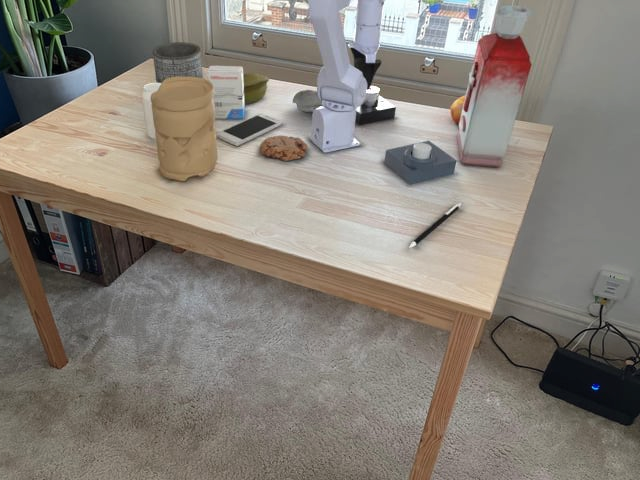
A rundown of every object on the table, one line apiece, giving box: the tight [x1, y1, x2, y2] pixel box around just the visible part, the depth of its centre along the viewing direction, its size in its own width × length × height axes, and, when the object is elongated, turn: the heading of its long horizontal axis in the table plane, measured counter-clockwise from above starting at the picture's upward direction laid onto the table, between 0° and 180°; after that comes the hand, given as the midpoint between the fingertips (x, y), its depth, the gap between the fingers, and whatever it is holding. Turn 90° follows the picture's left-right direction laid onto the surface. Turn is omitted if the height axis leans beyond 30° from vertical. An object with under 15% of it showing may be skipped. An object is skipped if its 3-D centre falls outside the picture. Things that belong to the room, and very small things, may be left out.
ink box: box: [205, 65, 246, 120], centre depth 142 cm, size 9×5×12 cm, turn 84°
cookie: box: [259, 135, 308, 162], centre depth 129 cm, size 10×11×3 cm
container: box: [151, 76, 219, 182], centre depth 119 cm, size 13×13×18 cm
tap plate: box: [355, 95, 397, 126], centre depth 144 cm, size 10×9×3 cm
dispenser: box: [383, 140, 457, 185], centre depth 122 cm, size 11×11×5 cm
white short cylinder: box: [412, 142, 432, 159], centre depth 118 cm, size 4×4×2 cm
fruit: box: [449, 94, 466, 126], centre depth 138 cm, size 8×8×8 cm
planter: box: [152, 41, 204, 83], centre depth 150 cm, size 12×12×13 cm
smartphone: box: [216, 113, 282, 147], centre depth 138 cm, size 7×16×1 cm, turn 136°
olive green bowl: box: [243, 72, 270, 104], centre depth 151 cm, size 11×12×7 cm
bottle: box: [456, 5, 533, 168], centre depth 119 cm, size 14×10×30 cm
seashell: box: [292, 89, 323, 113], centre depth 145 cm, size 12×8×5 cm
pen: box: [408, 202, 462, 249], centre depth 107 cm, size 1×19×1 cm, turn 138°
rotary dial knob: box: [362, 85, 381, 107], centre depth 142 cm, size 4×4×4 cm
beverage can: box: [141, 82, 162, 141], centre depth 133 cm, size 6×6×12 cm
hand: (362, 83), depth 136 cm, fingers open, 7 cm apart
